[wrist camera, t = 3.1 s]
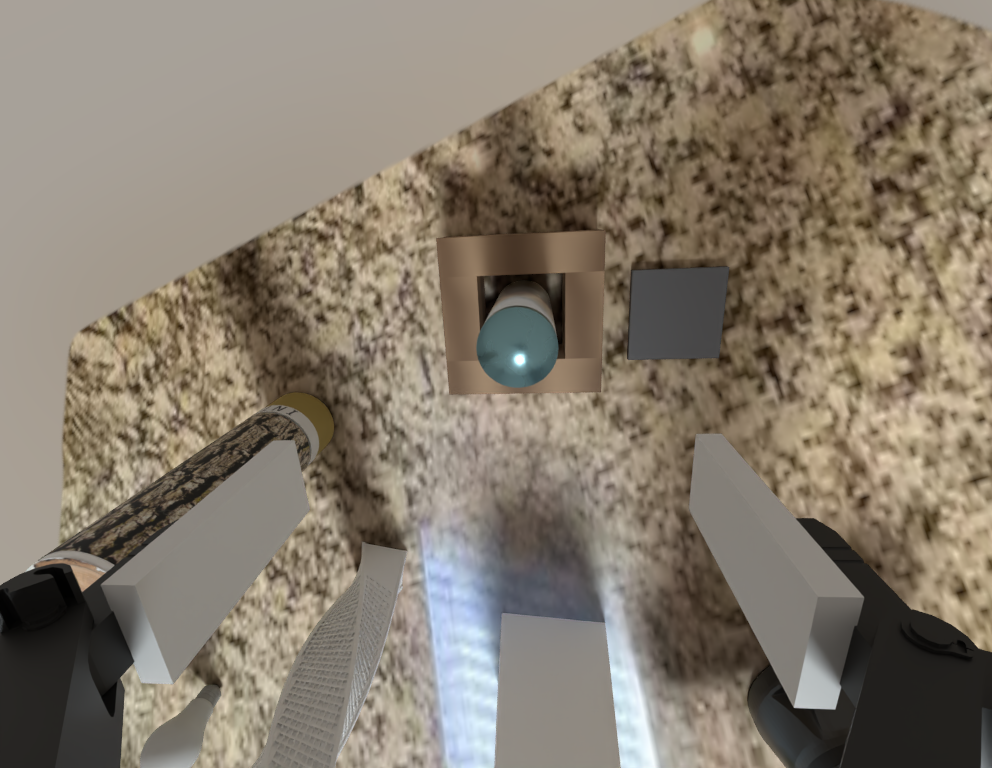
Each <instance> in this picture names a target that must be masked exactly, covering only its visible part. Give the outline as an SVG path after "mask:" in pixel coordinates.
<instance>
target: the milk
mask: <svg viewBox="0 0 992 768" xmlns="http://www.w3.org/2000/svg"><path fill="white" fill-rule="evenodd" d="M494 768H621V767H620V757H619V748H618V739H617V729H616V720H615V711H614V701H613V692H612V682H611V673H610V664H609V654H608V645H607V636H606V626H605V623H603V622H592V621H582V620H571V619H561V618H551V617H540V616H530V615H519V614H509V613H502V618H501V637H500V656H499V675H498V696H497V719H496V742H495V765H494Z"/></svg>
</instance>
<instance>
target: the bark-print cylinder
mask: <svg viewBox="0 0 992 768" xmlns="http://www.w3.org/2000/svg"><path fill="white" fill-rule="evenodd" d="M333 433H334V422H333V418H332V415H331V413H330V411H329V410H328V408H327V407H326V406H325V405H324V404H323V403H322V402H321V401H320V400H319V399H317V398H315V397H313V396H311V395H309V394H306V393H300V392H294V393H289V394H286V395H283V396H281V397H280V398H278V399H277V400H275V401H274V402H272V403H271V404H269V405H268V406H266V407H265V408H263V409H262V410H260V411H259V412H257V413H256V414H254V415H253V416H251V417H250V418H248V419H247V420H245V421H244V422H242V423H241V424H239V425H238V426H236V427H235V428H233V429H232V430H230V431H229V432H227V433H226V434H224V435H223V436H221V437H220V438H218V439H217V440H216V441H214V442H213V443H211V444H210V445H208V446H207V447H205V448H204V449H202V450H201V451H199V452H198V453H196V454H195V455H193V456H192V457H190V458H189V459H187V460H186V461H184V462H183V463H181V464H180V465H178V466H177V467H176V468H174V469H173V470H171V471H170V472H168V473H167V474H165V475H164V476H162V477H161V478H159V479H158V480H156V481H155V482H153V483H152V484H150V485H149V486H147V487H146V488H144V489H143V490H141V491H140V492H138V493H137V494H135V495H134V496H133V497H131V498H130V499H128V500H127V501H125V502H124V503H122V504H121V505H119V506H118V507H116V508H115V509H113V510H112V511H110V512H109V513H107V514H106V515H104V516H103V517H101V518H100V519H98V520H97V521H95V522H94V523H93V524H91V525H90V526H88V527H87V528H85V529H84V530H82V531H81V532H79V533H78V534H76V535H75V536H73V537H72V538H70V539H69V540H67V541H66V542H64V543H63V544H61V545H60V546H58V547H57V548H55V549H54V550H53V551H51V552H50V553H48V554H47V555H45V556H44V557H42V558H41V559H40V560H38V562H36V563H35V564H33V565H32V566H30V567H29V568H28V569H27V570H26V572H27V571H29V570H32V569H34V568H37V567H41V566H45V565H49V564H57V563H64V564H67V565H70V566H71V568H72V570H73V572H74V575H75V577H76V579H77V581H78V584H79V586H80V588H81V591H82V592H83V591H84V590H85V589H87V588H88V587H89V586H90V585H91V584H93V583H94V582H95V581H96V580H98V579H99V578H100V577H101V576H102V575H104V574H105V573H106V572H107V571H109V570H110V569H111V568H112V567H113V566H115V565H116V564H117V563H118V562H120V561H121V560H122V559H123V558H127V557H128V554H129V553H131V552H132V551H133V550H134V549H135V548H137V547H138V546H141V544H142V543H143V542H144V541H145V540H146V539H148V538H149V537H150V536H151V535H153V534H154V533H155V532H156V531H157V530H159V529H161V528H163V527H165V526H167V525H168V524H170V523H172V522H174V521H176V520H177V519H180V518H181V517H182V516H183V515H185V514H186V513H187V512H188V511H189V510H191V509H192V508H193V507H194V506H195V505H197V504H198V503H199V502H200V501H201V500H203V499H204V498H205V497H206V496H207V495H209V494H210V493H211V492H212V491H213V490H215V489H216V488H217V487H218V486H219V485H221V484H222V483H223V482H224V481H225V480H227V479H228V478H229V477H230V476H231V475H233V474H234V473H235V472H236V471H237V470H239V469H240V468H241V467H242V466H243V465H245V464H246V463H247V462H248V461H249V460H250V459H252V458H253V457H254V456H255V455H256V454H258V453H259V452H260V451H261V450H262V449H264V448H265V447H266V446H267V445H268V444H270V443H271V442H272V441H276V440H295V444H296V449H297V453H298V458H299V462H300V467H301V471H302V472H303V471H304V469H305V468H306V467H307V466H308V465H309V464H310V463H311V462H312V461H313V460H314V459H315V457H316V456H317V455H318V454H319V453H320V452H321V451H322V450H323V449H324V448H325V447H326V446H327V445H328V444H329V442H330V441H331V439H332V436H333Z"/></svg>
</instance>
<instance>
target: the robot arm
mask: <svg viewBox="0 0 992 768" xmlns="http://www.w3.org/2000/svg"><path fill="white" fill-rule="evenodd" d="M309 510H310V508H309V503H308V499H307V494H306V489H305V485H304V480H303V476H302V471H301V467H300V462H299V458H298V453H297V449H296V444H295V440H276V441H272V442H271V443H270V444H268V445H267V446H266V447H265V448H264V449H262V450H261V451H260V452H259V453H258V454H256V455H255V456H254V457H253V458H252V459H250V460H249V461H248V462H247V463H246V464H245V465H243V466H242V467H241V468H240V469H239V470H237V471H236V472H235V473H234V474H233V475H231V476H230V477H229V478H228V479H227V480H225V481H224V482H223V483H222V484H221V485H219V486H218V487H217V488H216V489H215V490H213V491H212V492H211V493H210V494H209V495H207V496H206V497H205V498H204V499H203V500H201V501H200V502H199V503H198V504H197V505H195V506H194V507H193V508H192V509H191V510H189V511H188V512H187V513H186V514H185V515H183V516H182V517H181V518H180V519H177V520H176V521H174V522H172V523H170V524H168V525H167V526H165V527H163V528H161V529H159V530H157V531H156V532H155V533H154V534H153V535H151V536H150V537H149V538H148V539H146V540H145V541H144V542H143V543H142V544H141V546H138V547H137V548H135V549H134V550H133V551H132V552H131V553H129V554H128V557H127V558H123V559H122V560H121V561H120V562H118V563H117V564H116V565H115V566H113V567H112V568H111V569H110V570H109V571H107V572H106V573H105V574H104V575H102V576H101V577H100V578H99V579H98V580H96V581H95V582H94V583H93V584H91V585H90V586H89V587H88V588H87V589H85V590H84V591H83V592H82V591H81V588H80V586H79V584H78V581H77V579H76V577H75V575H74V572H73V570H72V568H71V566H70V565H67V564H64V563H57V564H49V565H45V566H41V567H37V568H34V569H32V570H29V571H27V572H24V573H22V574H20V575H18V576H16V577H14V578H12V579H10V580H9V581H7V582H5V583H3V584H2V585H0V768H120V759H121V743H122V726H123V710H124V693H125V690H124V687H123V684H122V681H121V679H120V677H121V676H122V675H123V674H124V673H125V672H126V671H127V669H128V668H129V667H130V666H131V665H132V664H133V663H134V666H135V668H136V670H137V673H138V675H139V678H140V680H141V682H142V683H158V684H174V683H175V681H176V680H177V679H178V678H179V676H180V675H181V674H182V672H183V671H184V670H185V669H186V667H187V666H188V665H189V663H190V662H191V661H192V660H193V658H194V657H195V656H196V655H197V653H198V652H199V651H200V649H201V648H202V647H203V646H204V644H205V643H206V642H207V640H208V639H209V638H210V637H211V635H212V634H213V633H214V632H215V630H216V629H217V628H218V626H219V625H220V624H221V623H222V621H223V620H224V619H225V617H226V616H227V615H228V614H229V612H230V611H231V610H232V609H233V607H234V606H235V605H236V603H237V602H238V601H239V600H240V598H241V597H242V596H243V595H244V593H245V592H246V591H247V589H248V588H249V587H250V586H251V584H252V583H253V582H254V580H255V579H256V578H257V577H258V575H259V574H260V573H261V572H262V570H263V569H264V568H265V566H266V565H267V564H268V563H269V561H270V560H271V559H272V557H273V556H274V555H275V554H276V552H277V551H278V550H279V549H280V547H281V546H282V545H283V543H284V542H285V541H286V540H287V538H288V537H289V536H290V534H291V533H292V532H293V531H294V529H295V528H296V527H297V526H298V524H299V523H300V522H301V520H302V519H303V518H304V517H305V515H306V514H307V513H308V512H309ZM689 511H690V513H691V515H692V517H693V518H694V520H695V522H696V524H697V526H698V528H699V530H700V532H701V534H702V535H703V537H704V539H705V541H706V543H707V545H708V547H709V549H710V551H711V552H712V554H713V556H714V558H715V560H716V562H717V564H718V566H719V568H720V569H721V571H722V573H723V575H724V577H725V579H726V581H727V583H728V585H729V586H730V588H731V590H732V592H733V594H734V596H735V598H736V600H737V602H738V603H739V605H740V607H741V609H742V611H743V613H744V615H745V617H746V619H747V620H748V622H749V624H750V626H751V628H752V630H753V632H754V634H755V636H756V637H757V639H758V641H759V643H760V645H761V647H762V649H763V651H764V653H765V654H766V656H767V658H768V660H769V662H770V664H771V665H770V666H769V667H768V668H766V669H765V670H764V671H763V672H762V673H761V674H760V675H759V676H758V677H757V678H756V680H755V681H754V683H753V685H752V686H751V689H750V692H749V696H748V707H749V711H750V713H751V716H752V718H753V720H754V723H755V725H756V727H757V729H758V731H759V733H760V735H761V736H762V738H763V739H764V741H765V742H766V743H767V744H768V745H769V747H770V748H771V749H772V750H773V752H774V753H775V754H776V756H777V757H778V758H779V759H780V761H781V762H782V763H783V764H784V766H785V767H786V768H992V652H988V651H984V650H981V649H978V648H977V646H976V645H975V644H974V643H973V642H972V641H971V640H970V639H969V637H968V636H966V635H965V634H963V633H962V632H961V631H959V630H958V629H956V628H955V627H954V626H952V625H951V624H949V623H947V622H945V621H943V620H941V619H939V618H937V617H935V616H932V615H929V614H926V613H923V612H919V611H916V610H911V609H910V608H909V607H908V606H907V605H906V604H905V603H904V602H903V601H902V600H901V599H900V598H899V596H898V595H897V594H896V593H895V592H894V591H893V590H892V589H891V588H890V587H889V586H888V585H887V584H886V583H885V582H884V581H883V580H882V579H881V578H880V577H879V576H878V575H877V574H876V573H875V572H874V571H873V570H872V569H871V567H870V566H869V565H868V564H864V560H863V559H862V558H861V557H860V556H859V555H858V554H857V553H856V552H855V551H854V550H851V547H850V546H849V545H848V544H847V543H846V542H845V541H844V540H843V538H842V537H841V536H840V535H839V534H838V533H837V532H836V531H834V530H832V529H831V528H829V527H827V526H826V525H824V524H823V523H821V522H819V521H818V520H816V519H814V518H795V517H794V516H793V515H792V514H791V513H790V512H789V510H788V509H787V508H786V507H785V506H784V505H783V504H782V502H781V501H780V500H779V499H778V498H777V497H776V496H775V494H774V493H773V492H772V491H771V490H770V489H769V488H768V486H767V485H766V484H765V483H764V482H763V481H762V480H761V478H760V477H759V476H758V475H757V474H756V473H755V471H754V470H753V469H752V468H751V467H750V466H749V465H748V463H747V462H746V461H745V460H744V459H743V458H742V457H741V455H740V454H739V453H738V452H737V451H736V450H735V449H734V447H733V446H732V445H731V444H730V443H729V442H728V441H727V439H726V438H725V437H724V436H723V435H722V434H696V438H695V448H694V459H693V470H692V480H691V491H690V502H689Z"/></svg>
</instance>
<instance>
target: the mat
mask: <svg viewBox="0 0 992 768" xmlns="http://www.w3.org/2000/svg"><path fill="white" fill-rule="evenodd" d="M728 274H729V267H727V266H723V267H697V268H672V269H646V270H631V287H630V308H629V329H628V351H627V359H628V360H646V359H693V358H719V353H720V344H721V335H722V327H723V318H724V309H725V300H726V292H727V283H728Z"/></svg>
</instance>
